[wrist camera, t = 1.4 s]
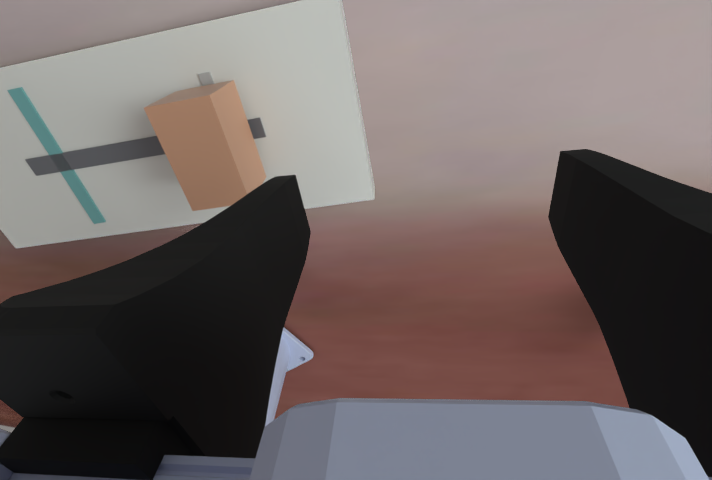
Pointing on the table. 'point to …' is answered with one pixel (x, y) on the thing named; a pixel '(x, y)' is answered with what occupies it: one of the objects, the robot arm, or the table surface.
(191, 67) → the fader board
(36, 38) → the table surface
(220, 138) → the block
